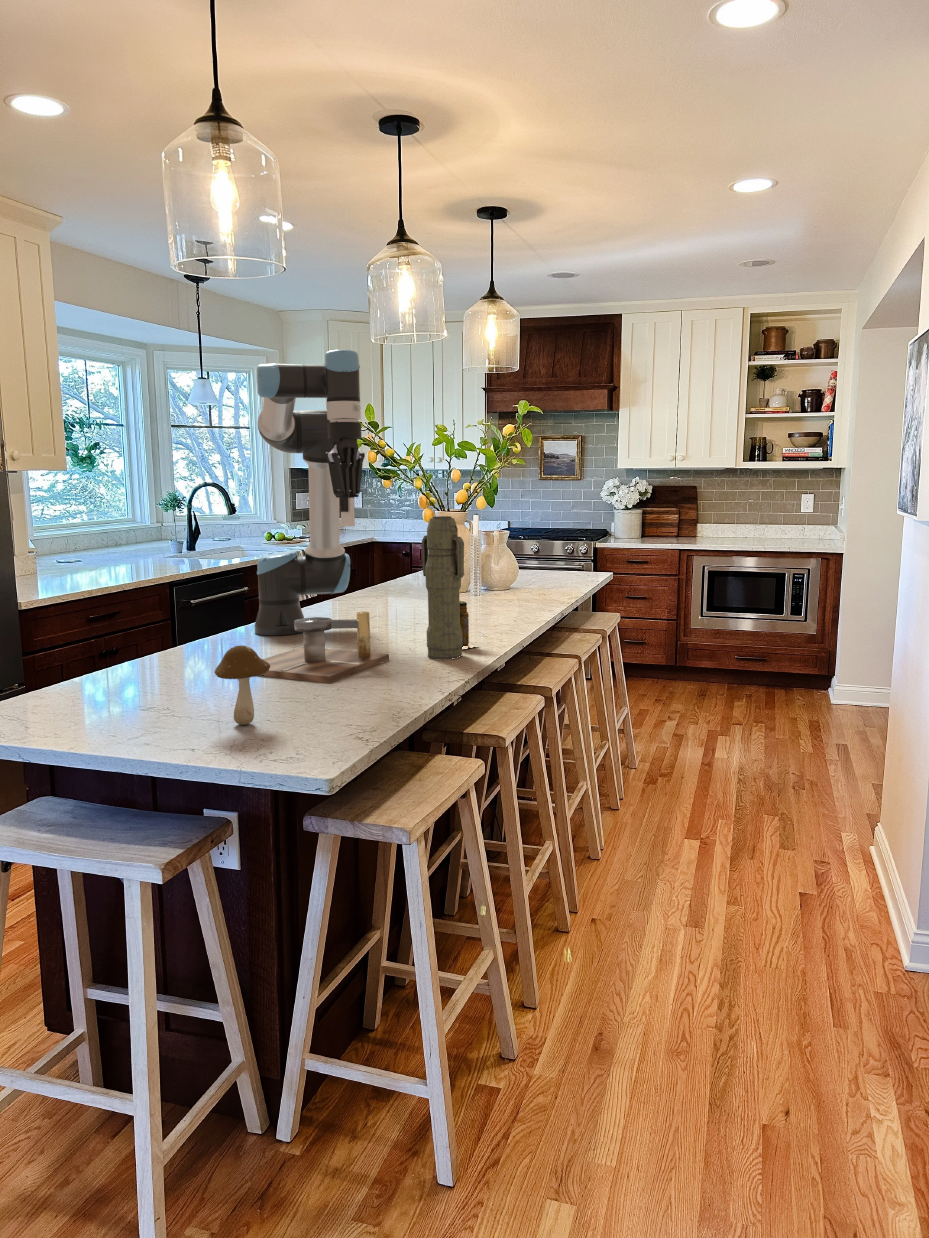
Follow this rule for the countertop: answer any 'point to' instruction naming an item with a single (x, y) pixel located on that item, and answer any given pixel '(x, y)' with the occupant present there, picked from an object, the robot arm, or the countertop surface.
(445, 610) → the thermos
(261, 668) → the mushroom
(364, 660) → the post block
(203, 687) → the countertop surface
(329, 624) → the crank handle
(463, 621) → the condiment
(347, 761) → the countertop surface
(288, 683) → the countertop surface
